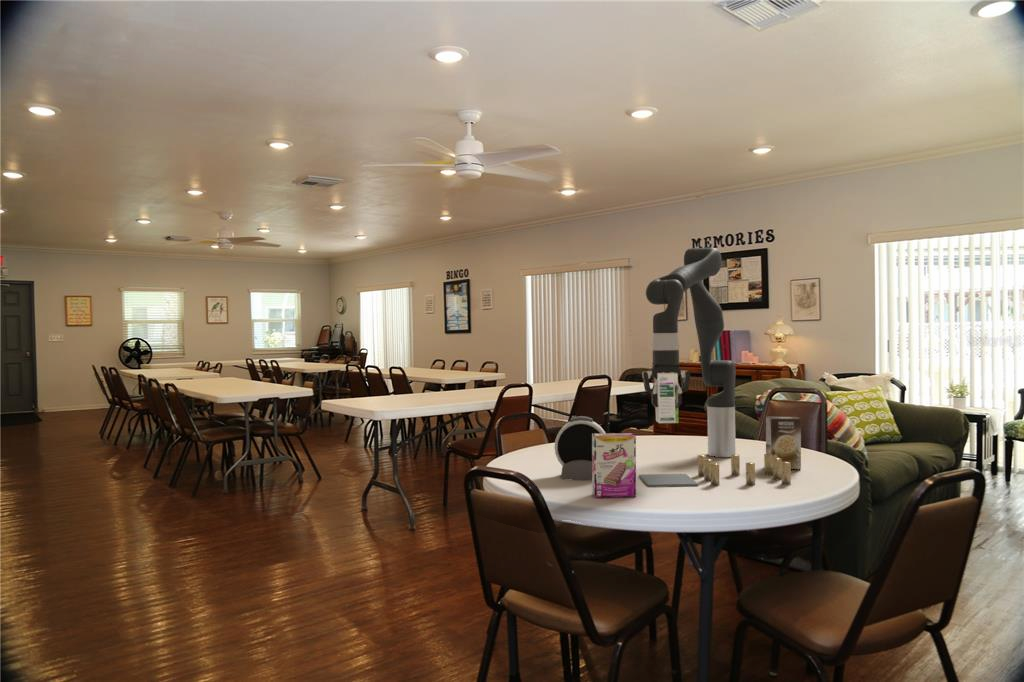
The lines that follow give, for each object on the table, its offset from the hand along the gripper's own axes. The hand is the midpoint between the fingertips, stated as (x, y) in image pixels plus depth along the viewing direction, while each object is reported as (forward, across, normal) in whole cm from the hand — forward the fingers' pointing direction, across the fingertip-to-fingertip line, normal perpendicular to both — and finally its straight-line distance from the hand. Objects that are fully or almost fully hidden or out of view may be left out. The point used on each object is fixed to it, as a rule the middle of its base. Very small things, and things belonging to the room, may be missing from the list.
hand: (666, 406), depth 196 cm
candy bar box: (+22, +18, +17) cm, 33 cm away
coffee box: (+22, -40, -16) cm, 48 cm away
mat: (+22, 0, 0) cm, 22 cm away
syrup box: (+5, 0, 0) cm, 5 cm away
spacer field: (+22, -22, 0) cm, 31 cm away
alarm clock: (+22, +24, -8) cm, 34 cm away
